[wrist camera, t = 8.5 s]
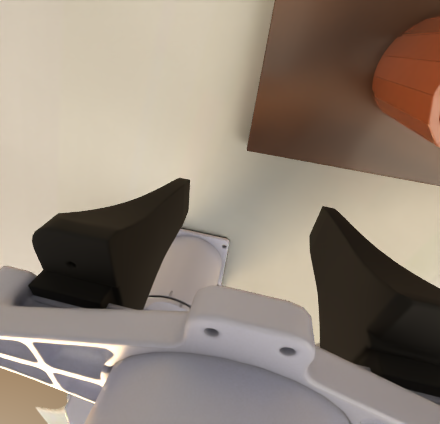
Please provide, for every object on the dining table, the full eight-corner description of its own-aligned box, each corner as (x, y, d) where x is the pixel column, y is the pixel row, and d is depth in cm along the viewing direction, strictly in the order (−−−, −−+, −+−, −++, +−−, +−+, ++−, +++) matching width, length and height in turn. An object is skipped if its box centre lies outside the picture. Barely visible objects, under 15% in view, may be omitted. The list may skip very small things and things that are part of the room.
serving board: (491, 188, 20) (505, 198, 19) (248, 144, 21) (246, 150, 20) (715, -64, 12) (766, -76, 10) (295, -104, 13) (297, -119, 12)
